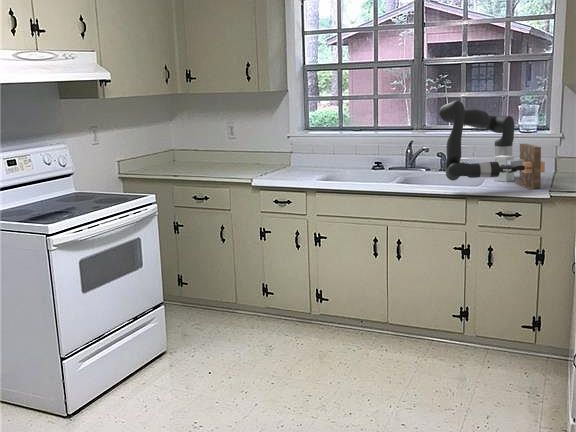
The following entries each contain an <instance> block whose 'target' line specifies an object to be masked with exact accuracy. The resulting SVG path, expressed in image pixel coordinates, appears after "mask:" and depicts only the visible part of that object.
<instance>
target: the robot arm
mask: <svg viewBox="0 0 576 432" xmlns="http://www.w3.org/2000/svg"><path fill="white" fill-rule="evenodd" d="M465 108H466V107H465V106H464V104H463V102H461V101H460V100H453V101H451V102H448V103H446V104H444V105H442V106H441V107H440V109H439V112H438V114H439V117H440V119H441V120H443V122H445V123H448V124H449V123H452V124H453V125H452V129H451V131H450V134H449V136H448V138H447V141H446V162H445V175H446V178H447V179H448V180H450V181H457V180H458V179H459V178H460V177H467V178H469V179H477V178H481V179H482V178H483V179H484V178H485V179H486V178H488V179H489V178H494V177H498V176H499V174H500V172H501V173H512V172H514V173H516V172H517V171H518V170H525V166H523V165H520V166H516V165H504V164H502V165H501V166H500V165H499V163H498V162H494V161H485V162H484V161H483V162H475V163H466V162H461V159H462V137H463V136H462V135H463V129H464V126H469V127H472V128H477V129H484V130H485V129H486V130H487V131H491V132H493V133H495V134H496V133H497V134H502V135H501V138H498V139H496V140H495V141H494V156H501V155H504V156H513V143H514V138H515V137H514V136H515V121H514V118H513V116H511V115H489V113H488V112H487V111H485V110H482V109H477V108H466V109H465Z"/></svg>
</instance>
